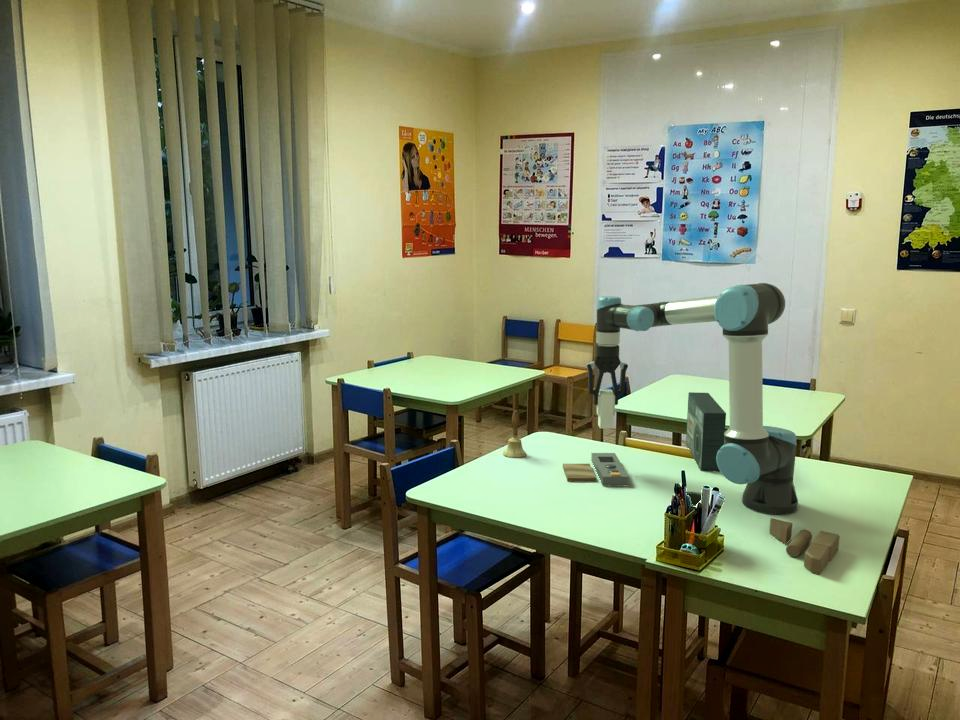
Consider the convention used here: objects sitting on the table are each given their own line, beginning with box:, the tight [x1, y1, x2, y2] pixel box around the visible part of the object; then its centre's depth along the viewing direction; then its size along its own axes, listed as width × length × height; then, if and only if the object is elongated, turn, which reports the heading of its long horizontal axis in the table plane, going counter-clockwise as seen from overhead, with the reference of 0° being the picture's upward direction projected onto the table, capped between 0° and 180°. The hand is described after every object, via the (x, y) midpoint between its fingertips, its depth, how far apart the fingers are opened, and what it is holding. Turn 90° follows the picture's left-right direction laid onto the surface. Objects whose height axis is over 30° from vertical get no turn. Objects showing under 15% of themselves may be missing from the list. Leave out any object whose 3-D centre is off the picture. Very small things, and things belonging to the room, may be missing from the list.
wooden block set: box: [769, 517, 840, 575], centre depth 186 cm, size 17×6×18 cm
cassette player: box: [685, 391, 727, 473], centre depth 259 cm, size 29×7×20 cm, turn 174°
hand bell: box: [502, 409, 527, 459], centre depth 263 cm, size 8×8×16 cm
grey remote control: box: [590, 452, 630, 486], centre depth 244 cm, size 24×8×4 cm, turn 0°
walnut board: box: [562, 463, 597, 483], centre depth 244 cm, size 14×9×1 cm, turn 0°
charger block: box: [597, 388, 614, 430], centre depth 245 cm, size 5×4×12 cm
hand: (605, 414), depth 246 cm, fingers closed on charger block, 4 cm apart
